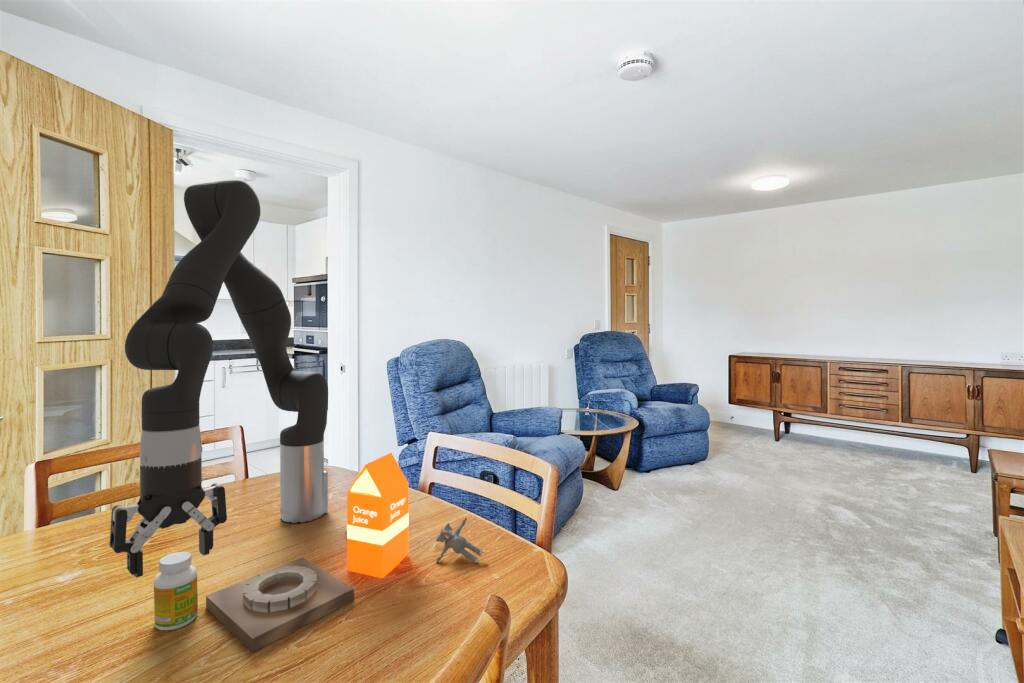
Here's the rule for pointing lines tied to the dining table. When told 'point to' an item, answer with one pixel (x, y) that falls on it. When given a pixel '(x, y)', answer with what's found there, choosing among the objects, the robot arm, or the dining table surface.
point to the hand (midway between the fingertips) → (172, 563)
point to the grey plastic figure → (457, 543)
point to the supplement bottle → (175, 592)
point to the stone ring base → (278, 602)
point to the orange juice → (377, 518)
